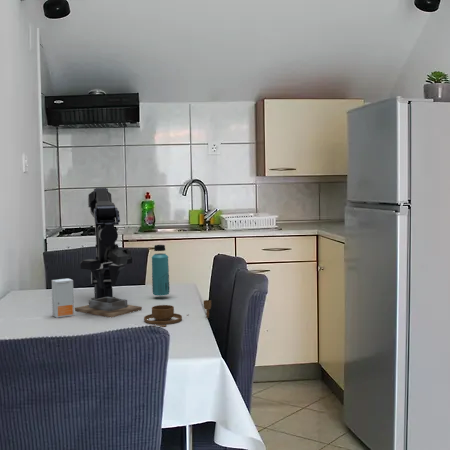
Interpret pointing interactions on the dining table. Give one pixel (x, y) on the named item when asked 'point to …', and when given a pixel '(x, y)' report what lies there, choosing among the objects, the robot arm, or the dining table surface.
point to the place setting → (169, 314)
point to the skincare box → (62, 298)
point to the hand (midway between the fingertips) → (107, 287)
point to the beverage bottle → (160, 272)
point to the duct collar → (108, 307)
